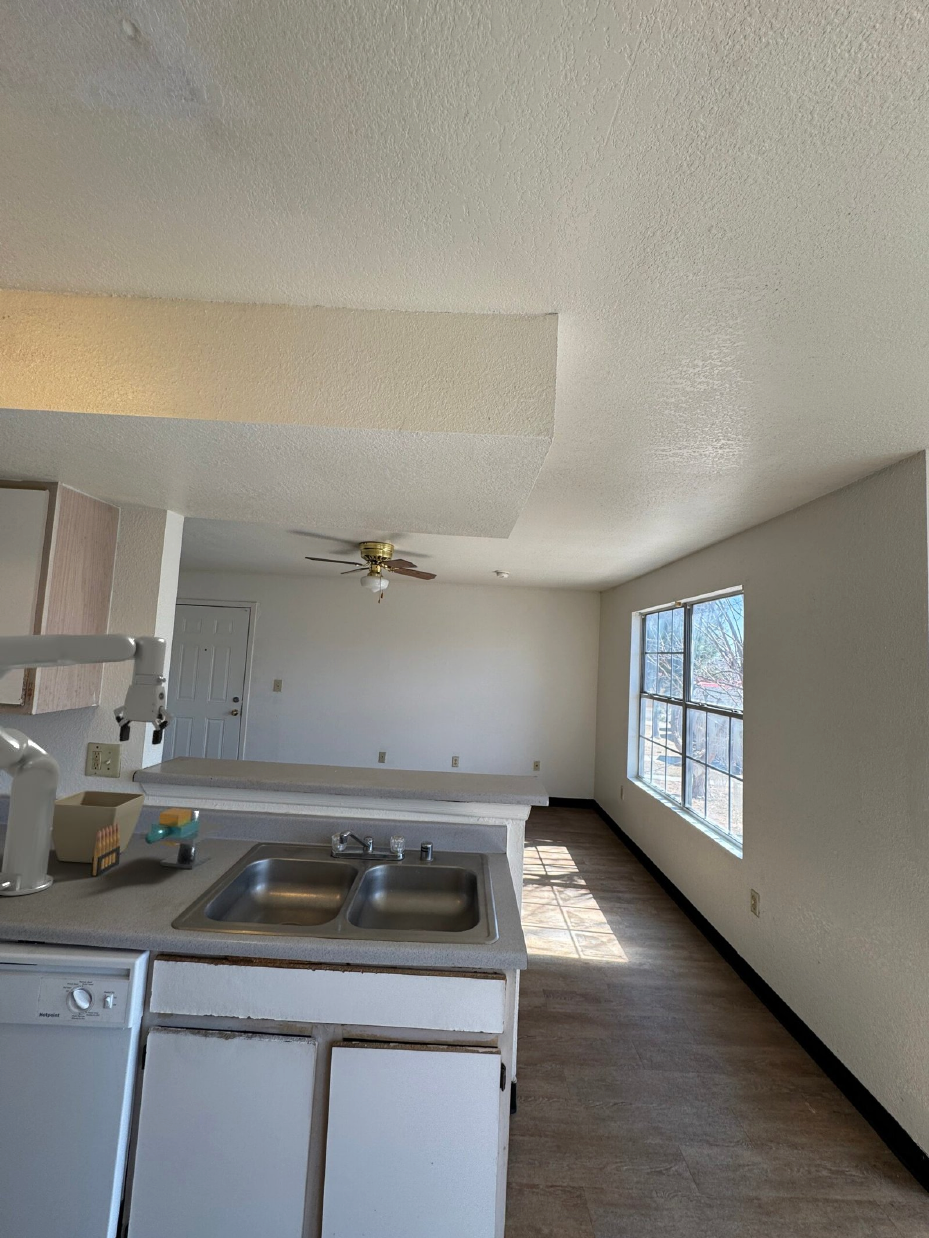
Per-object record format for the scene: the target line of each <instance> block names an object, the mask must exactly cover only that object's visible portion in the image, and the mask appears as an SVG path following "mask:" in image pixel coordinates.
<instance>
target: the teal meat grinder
mask: <svg viewBox="0 0 929 1238" xmlns="http://www.w3.org/2000/svg"><path fill="white" fill-rule="evenodd" d="M187 809H188V810H191V820H190V821H188V822H186V823H183V824H181V825H179V826H172V825H163V824H159V820H158V821H156V822H153V823H151V826H150V829H147V830H144V831H142V832H140V833H139V839H141V840H145V843H146V844H148V845H151V844H154V843H156V842H158V841H159V842H172V843H180V844H178V849H177V853H174V854H172V855H171V856H168V857H166V858H165V859H163V860H160V862H159V866H164V867H171V866H172V867H173V868H180V869H188V870H193V869H195V868H197V867H198V865H199V866H200V865H202V864H204V863H205V862H207V861H209V860H210V858H211V859H212V855H211V854H206V853H205V854H204V853H198V852H197V845H198V844H197V843H199V842H201V841H203V840H205V839H207V838H209V837H211V836H213V835H215V834H217V833H219V832H220V831H223V830H225V828H226V823H225V822H224V823H222V822H214V821H205V820H200V816H201V815H200V814H201V810H200V809H199V808H193V807H192V808H191V807H189V808H187ZM208 859H209V860H208ZM203 862H204V863H203ZM196 866H197V867H196Z"/></svg>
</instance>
